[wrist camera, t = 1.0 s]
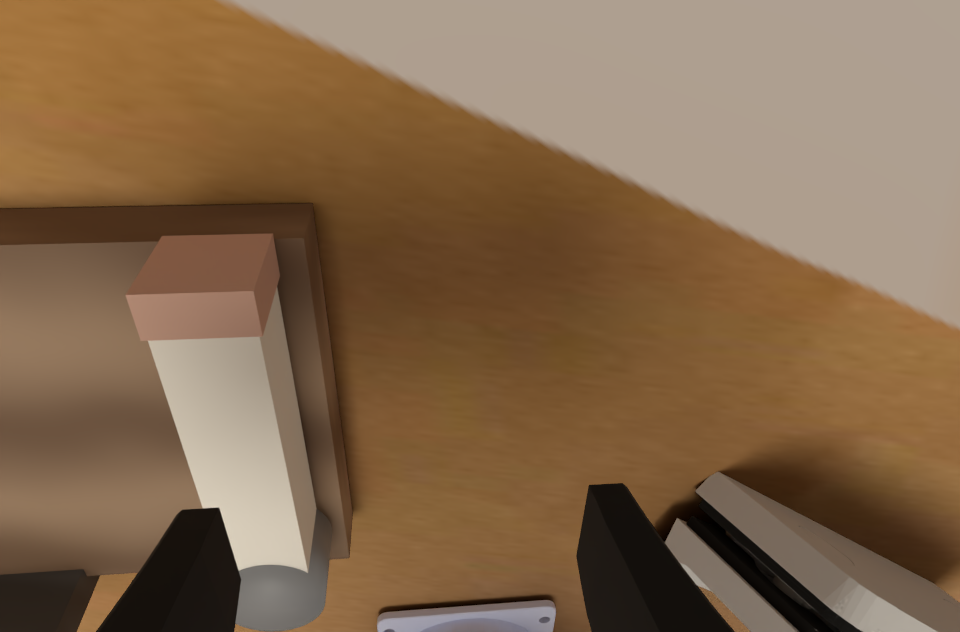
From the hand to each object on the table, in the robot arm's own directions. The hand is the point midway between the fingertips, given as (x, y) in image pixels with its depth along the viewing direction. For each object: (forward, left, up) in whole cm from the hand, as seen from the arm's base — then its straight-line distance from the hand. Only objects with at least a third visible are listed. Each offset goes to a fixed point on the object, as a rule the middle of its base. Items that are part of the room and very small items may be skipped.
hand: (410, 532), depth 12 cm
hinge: (-15, -18, -10) cm, 26 cm away
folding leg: (-4, +5, -7) cm, 10 cm away
